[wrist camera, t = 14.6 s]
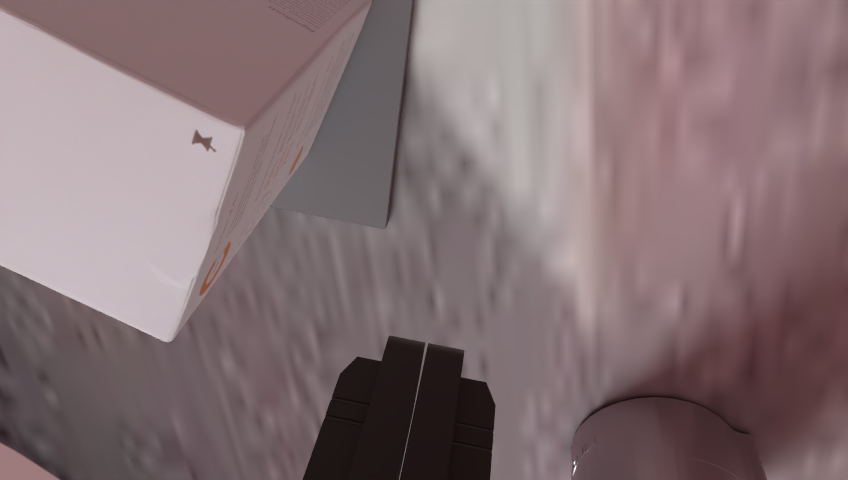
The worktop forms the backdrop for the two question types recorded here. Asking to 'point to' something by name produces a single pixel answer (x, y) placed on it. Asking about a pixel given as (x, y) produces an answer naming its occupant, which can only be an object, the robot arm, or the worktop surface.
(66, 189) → the small box
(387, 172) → the mat
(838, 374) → the worktop surface
